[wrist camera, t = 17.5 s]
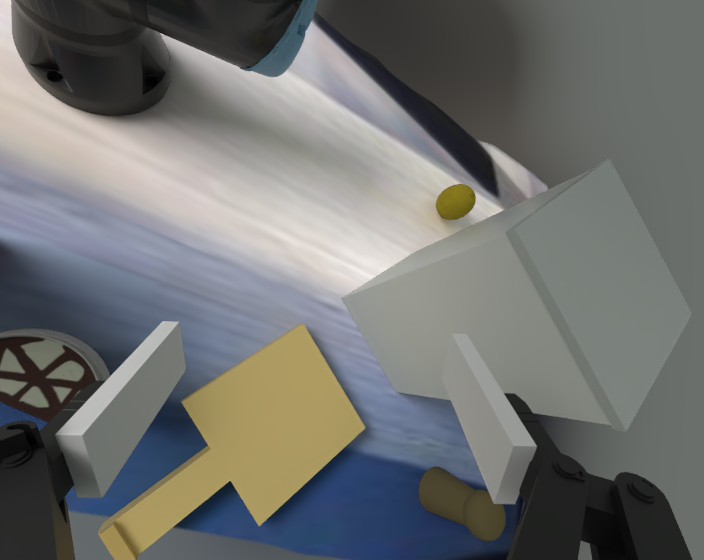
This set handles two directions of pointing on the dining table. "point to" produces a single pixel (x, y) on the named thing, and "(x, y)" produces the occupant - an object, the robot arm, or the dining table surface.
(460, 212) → the lemon
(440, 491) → the cork
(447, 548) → the dining table surface
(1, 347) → the food container
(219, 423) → the paddle
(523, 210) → the tall white upright box
